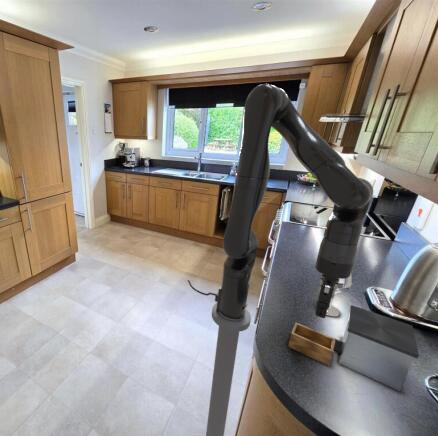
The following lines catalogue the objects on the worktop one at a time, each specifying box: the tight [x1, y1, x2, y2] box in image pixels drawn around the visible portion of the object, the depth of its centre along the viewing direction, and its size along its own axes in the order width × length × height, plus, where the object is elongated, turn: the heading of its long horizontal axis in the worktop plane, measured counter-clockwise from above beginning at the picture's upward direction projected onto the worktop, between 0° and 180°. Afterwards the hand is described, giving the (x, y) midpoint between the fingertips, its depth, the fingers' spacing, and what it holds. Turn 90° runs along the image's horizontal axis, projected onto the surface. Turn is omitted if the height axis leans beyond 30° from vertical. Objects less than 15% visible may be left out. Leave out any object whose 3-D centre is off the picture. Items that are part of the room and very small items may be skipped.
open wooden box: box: [287, 322, 336, 367], centre depth 71 cm, size 10×6×5 cm, turn 49°
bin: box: [333, 304, 420, 392], centre depth 66 cm, size 14×13×12 cm
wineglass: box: [326, 273, 353, 318], centre depth 85 cm, size 8×8×18 cm
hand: (322, 308), depth 68 cm, fingers open, 8 cm apart
